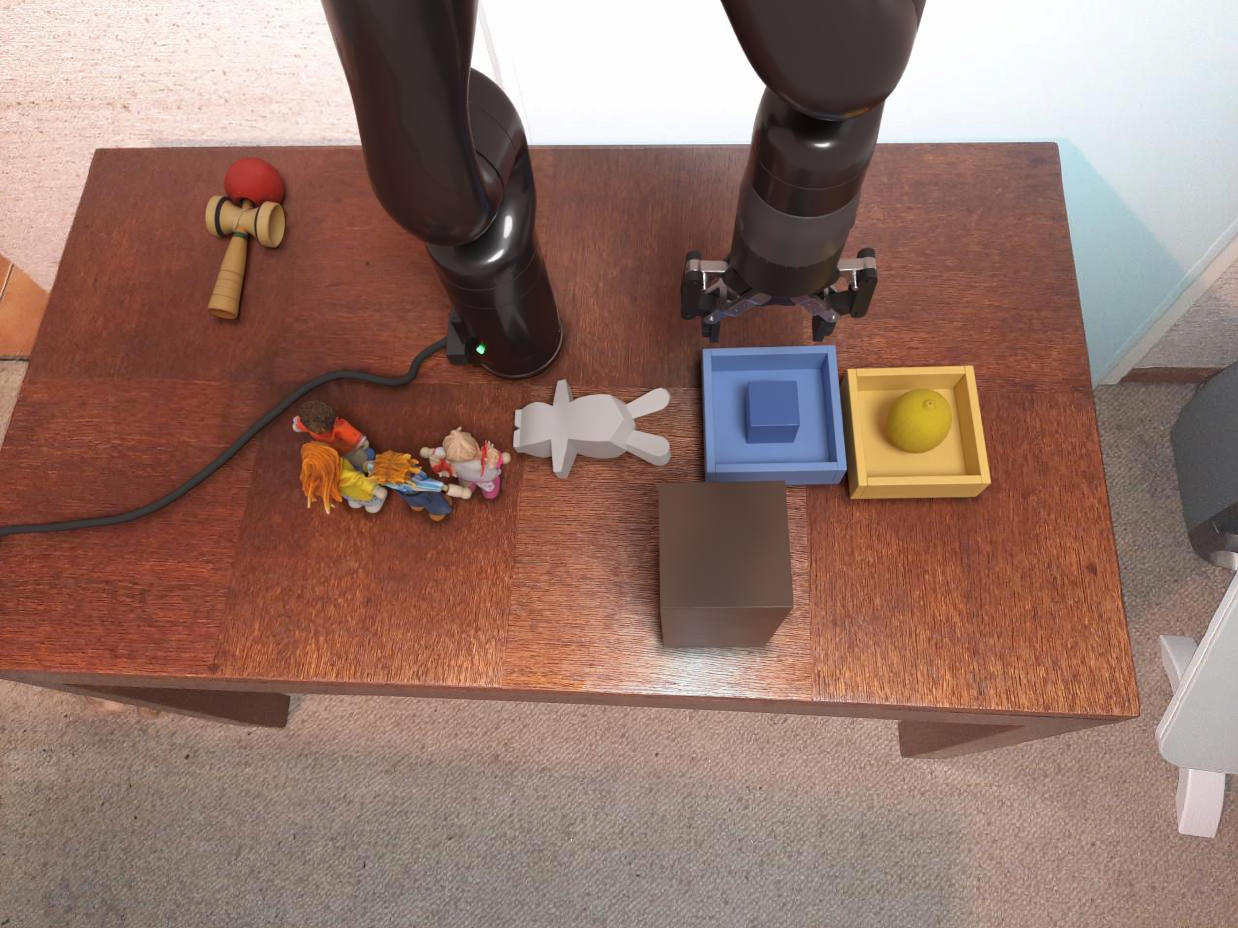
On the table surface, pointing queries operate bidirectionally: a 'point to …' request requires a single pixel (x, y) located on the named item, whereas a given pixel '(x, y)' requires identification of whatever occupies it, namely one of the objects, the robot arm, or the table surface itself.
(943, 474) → the yellow bin
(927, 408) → the lemon
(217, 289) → the kendama
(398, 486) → the doll family
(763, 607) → the stand
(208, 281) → the table surface
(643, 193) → the table surface
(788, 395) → the blue block
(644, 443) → the bunny figurine
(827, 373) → the blue bin
